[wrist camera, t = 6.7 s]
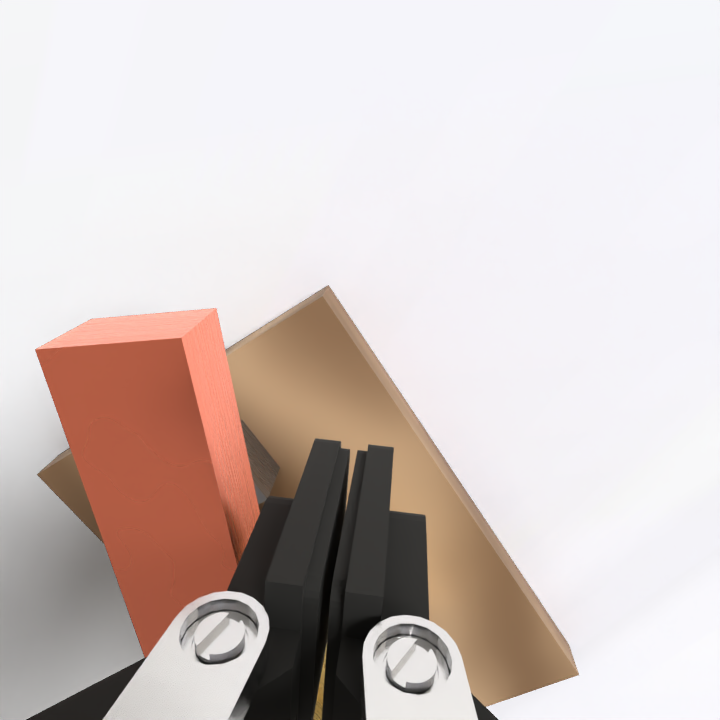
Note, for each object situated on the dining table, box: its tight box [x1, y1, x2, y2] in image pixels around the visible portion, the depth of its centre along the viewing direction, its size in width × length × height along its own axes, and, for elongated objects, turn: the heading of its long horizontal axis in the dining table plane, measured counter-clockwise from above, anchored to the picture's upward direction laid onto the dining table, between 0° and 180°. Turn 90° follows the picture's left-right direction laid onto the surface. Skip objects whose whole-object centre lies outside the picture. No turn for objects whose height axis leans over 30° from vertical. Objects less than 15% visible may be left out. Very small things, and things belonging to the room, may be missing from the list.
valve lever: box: [35, 308, 260, 658], centre depth 11 cm, size 15×3×2 cm, turn 6°
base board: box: [37, 285, 579, 707], centre depth 23 cm, size 14×20×2 cm
